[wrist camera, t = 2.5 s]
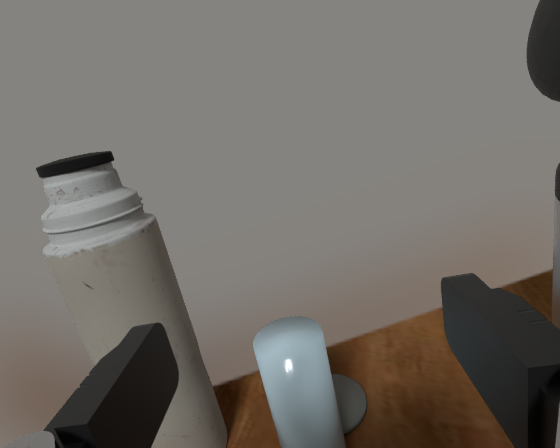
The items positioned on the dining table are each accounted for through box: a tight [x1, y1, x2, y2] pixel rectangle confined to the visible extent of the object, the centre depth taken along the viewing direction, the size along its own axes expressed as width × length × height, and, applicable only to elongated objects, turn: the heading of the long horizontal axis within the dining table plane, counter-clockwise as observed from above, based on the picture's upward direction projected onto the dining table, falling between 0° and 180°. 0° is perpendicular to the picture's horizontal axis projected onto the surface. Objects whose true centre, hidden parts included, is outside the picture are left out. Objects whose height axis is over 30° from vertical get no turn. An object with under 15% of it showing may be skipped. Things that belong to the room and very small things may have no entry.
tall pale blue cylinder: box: [253, 316, 346, 448], centre depth 27 cm, size 5×5×13 cm
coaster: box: [331, 374, 367, 434], centre depth 34 cm, size 7×7×1 cm
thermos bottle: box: [36, 151, 227, 448], centre depth 29 cm, size 8×8×28 cm
